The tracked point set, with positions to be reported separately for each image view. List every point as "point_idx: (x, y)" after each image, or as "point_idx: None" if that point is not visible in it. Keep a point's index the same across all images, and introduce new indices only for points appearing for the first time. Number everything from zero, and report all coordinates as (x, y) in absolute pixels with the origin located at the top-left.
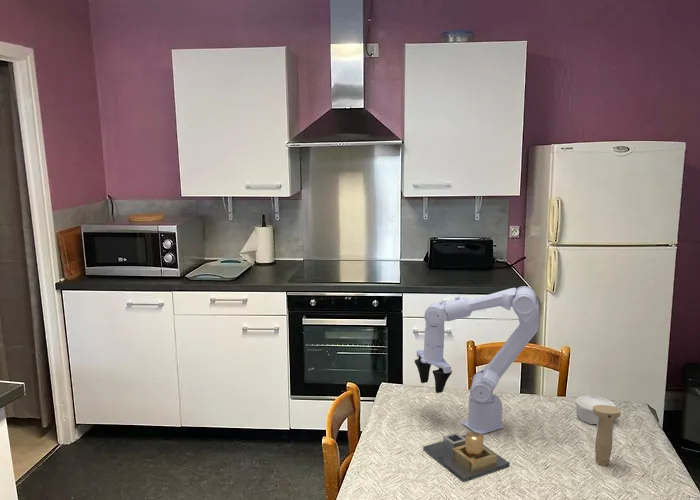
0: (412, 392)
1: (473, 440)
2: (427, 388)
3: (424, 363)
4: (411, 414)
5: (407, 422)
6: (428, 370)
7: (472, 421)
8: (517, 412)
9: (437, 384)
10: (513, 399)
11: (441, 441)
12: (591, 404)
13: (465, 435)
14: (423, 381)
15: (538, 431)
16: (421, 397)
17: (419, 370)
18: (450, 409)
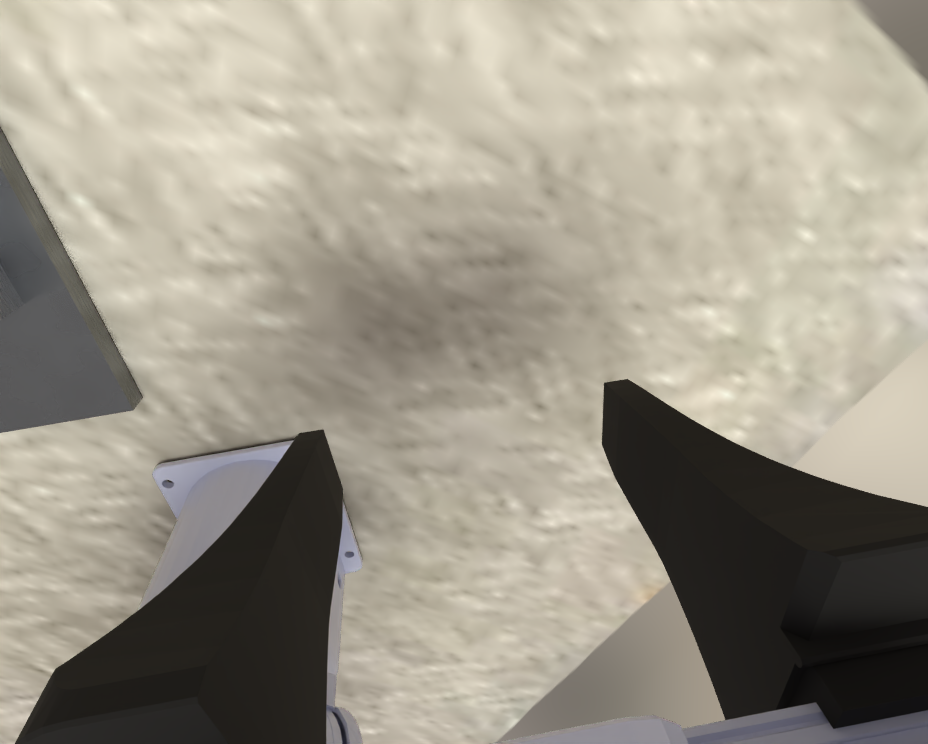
0: (819, 339)
1: None
2: (798, 436)
3: (752, 628)
4: (561, 190)
5: (456, 92)
6: (669, 562)
7: (215, 495)
8: (368, 672)
9: (236, 517)
10: (485, 692)
11: (10, 192)
12: None
13: (109, 393)
14: (610, 409)
15: None
16: (731, 362)
17: (720, 463)
18: (513, 448)
